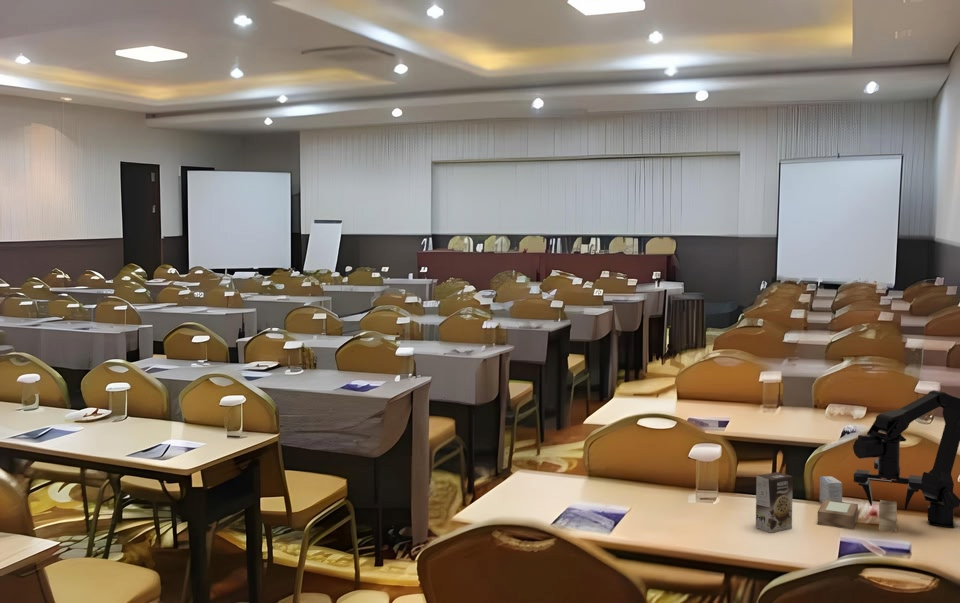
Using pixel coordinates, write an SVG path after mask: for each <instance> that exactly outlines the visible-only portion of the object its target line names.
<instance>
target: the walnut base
mask: <svg viewBox="0 0 960 603" xmlns="http://www.w3.org/2000/svg"><path fill="white" fill-rule="evenodd" d="M858 512H859V503H854V502H845V501H842V502H839V501H831V500H823V502H822V503H821V504H820V505H819V508H818V510H817V525H821V526H829V527H835V528H842V529H843V528H844V529H850V530H854V528H855V525H856V522H857V520H856V518H857V519H858V517H857V514H858V515H859V513H858Z"/></svg>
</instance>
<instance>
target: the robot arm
mask: <svg viewBox="0 0 960 603" xmlns="http://www.w3.org/2000/svg"><path fill="white" fill-rule="evenodd" d="M939 407H940V408H942V416H943V419H944V420H943V421H944V428H943V432H942V435H941V438H940V442H939V445H938V448H937V452H936V455H935V460H934V463H933V465H932V466H933V467H932V469H930V471H928V472H927V471H923V473H922V475H916V474H915V475H913V474H909V476H908V477H901V467H900V460H901V459H900V456H901V455H900V450H901V448H900V445H901V443H900V442H906V441H907V439H906V437H904V436H903V435H902V433H904V431H906V430H907V429H908V428H909V426H910V424H911V423H913V422H914V421H916V420H917V419H919V418H921V417H923V416H925V415H927V414H928V413H931V412H932V411H933V410H936V409H937V408H939ZM959 446H960V397H959V396H953V395H952V394H951V395H950V394H948V393H946V392H944V391H939V390H934V389H933V390H930V391H929V392H928V393H927V394H925V395H923V396H921V397H919V398H918V399H916V400H914V401H912V402H910V403H908V404H906V405H905V406H902V407H901V408H899V409H892V410H888V411H883V412H882V413H879V414H878V415H877V416H876V417H875V420H874V422H873V423H872V425H871V426H870V428H869V430H868V431H867V432H866V434H865V435H863V434H858V435H857V439H856V440H855V441H854V443H853V445H852V450H853V454H854V455H855V457H857V459H873V458H874V462H873V469H874V470H877V474H874V473H870V470H867V469H856V470H855V471H854V473H853V482H854V483H858V484H857V485H858V486H861V487H862V488H863V489H862V490H863V491H864V494H866V497H867V500H868V503H869V505H870V506H871V507H872V506H873V496H872V495H873V494H872V487H871V481H874V482H881V483H891V484H899V485H900V484H901V485H907V490H906V495H905V496H906V497H905V503H904V510H905V511H907V509H908V507H909V504H910V501H911V499H912V498H913V495H914V494H915V493H919V492H920V491H921V493H922V494H923V497H924V500H925V501H926V502H929V505H928V506H927V521H928V523H929V524H928V525H931V526H937V527H946V528H954V527H955V520H954V514H955V512H954V511H955V510H954V509H956V508H959V507H960V498H959V497H958V496H957V494H956V493H955V492H954V487H955V486H954V485H955V483H954V480H953V477H952V471H953V468H954V464H955V462H956V461H955V459H956V457H957V453H958V449H959Z"/></svg>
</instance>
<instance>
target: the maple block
mask: <svg viewBox="0 0 960 603" xmlns="http://www.w3.org/2000/svg"><path fill="white" fill-rule="evenodd" d="M897 507H898V502H897V501H892V500H883V499H880V500H879V502H878V531H883V532H889V533H896V532H897V526H898V524H897V520H898V519H897V518H898V516H897V515H898V514H897V511H898V510H897V509H898V508H897Z"/></svg>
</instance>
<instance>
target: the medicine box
mask: <svg viewBox="0 0 960 603" xmlns="http://www.w3.org/2000/svg"><path fill="white" fill-rule="evenodd" d="M842 482H843V481H842ZM842 482H841V481H840V480H838V479H837V478H835V477H834V476H831V475H830V476H825V475H824V476H820V477H819V502H820V503H821V504H822V502H823V500H831V501H839V502H843V483H842Z"/></svg>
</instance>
